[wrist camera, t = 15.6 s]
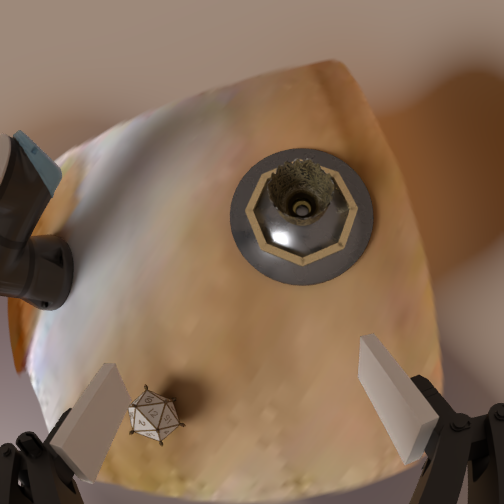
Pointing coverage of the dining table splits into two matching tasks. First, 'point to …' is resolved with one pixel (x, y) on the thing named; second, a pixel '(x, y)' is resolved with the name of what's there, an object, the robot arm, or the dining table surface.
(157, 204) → the dining table surface
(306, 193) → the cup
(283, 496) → the dining table surface
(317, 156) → the carrier plate
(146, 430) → the game die
